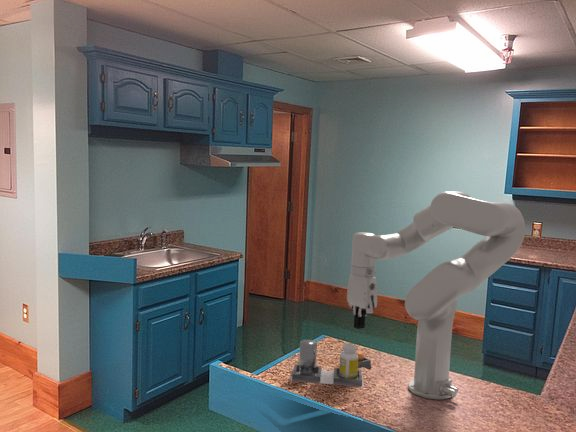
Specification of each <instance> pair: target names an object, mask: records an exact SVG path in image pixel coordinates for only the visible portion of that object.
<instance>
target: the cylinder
mask: <svg viewBox="0 0 576 432" xmlns="http://www.w3.org/2000/svg"><path fill="white" fill-rule="evenodd" d="M317 348H318V342H317V341H315V340H313V339H302V340H300V342H299V356H298V357H299V359H298V361H299V363H298V365H299V374H306V375H315V374H316V366H317V350H318V349H317Z"/></svg>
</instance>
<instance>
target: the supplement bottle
mask: <svg viewBox="0 0 576 432" xmlns="http://www.w3.org/2000/svg"><path fill="white" fill-rule="evenodd" d="M356 351H357V345H355V344H353V343H352V344H351V343H346V344H343V345H342V352H340V354H339V367H338V368H339V377H342V378H354V379H357V374H358V369H359V367H358V354H357V353H355V352H356Z"/></svg>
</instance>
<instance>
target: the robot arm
mask: <svg viewBox="0 0 576 432" xmlns="http://www.w3.org/2000/svg"><path fill="white" fill-rule="evenodd" d="M412 220H413V221H412V222H411V223H410V224H409V225H407V226H406V227H404V228H401V229H400V230H399V231H396V232H395V233H387V234H378V235H376V234H375V233H372V232H368V231H366V232H365V231H364V232H363V231H362V232H361V231H359V232H355V233H354V234H353V236H352V244H351V247H352V248H351V262H350V263H351V266H350V275H349V278H348V282H347V288H346V289H347V291H346V301H347V305H348V306H349V307H350V308H351V309H352V314H353V316H354V318H353V319H354V320H353V327H354V328H355V329H357V330H360V329H365V326H366V325H365V324H366V317H367V316H368V314H373V313H374V309H376V308H377V306H378V283H377V282H378V281H377V277H375V276H376V260H378V261H384V260H385V261H386V260H391V259H395V258H400V257H403V256H404V255H408V254H409V253H411V252H413V251H415V250H417V249H418V248H420V247H422V246H423V245H426V243H429V241H431V240H432V239H434V238H436V237H438V236H440V235H442V234H444V233H446V232H447V231H449V230H451V229H454V228H456V229H459V230H463V231H466V232H469V233H472V234H476V235H479V236H483V238H482V239H481V240H480V241H477V242H476V243H475V244H474V245H473V246H472V247H471V248H470V249H469V250H468V251H466V252H465V253H463V254H462V255H461V256H460V257H458V258H455V259H452V260H447V261H444V262H442V263H440V264H439V265H437V266H436V267H434V268H433V269H432V270H431V271H429V273H428V274H426V275H425V276H424V277H422V279H420V281H418V282H417V283H416V284H414V285H413V286H412V287H411V289H409V291H408V292H407V293H406V296H405V300H404V307H405V308H404V309H405V311H406V312H407V314H408V315H409V316H410V317H411V318H412V319H414V320H416V321H418V322H417V330H416V340H415V341H416V342H415V343H416V344H415V360H414V373H413V375H414V376H413V379H411V380H410V381H408V384H407V387H408V389H409V391H410V392H411V393H413V394H414V395H416V396H418V397H421V398H424V399H428V400H429V399H430V400H447V399H450V398H456V396H457V394H458V392H459V388H458V387H456V386H453V384H452V383H453V382H452V381H453V380H452V379H451V378H450V365H451V364H450V363H451V351H452V349H451V347H452V337H453V335H452V334H453V327H454V326H453V325H454V319H455V313H456V310H457V299H458V298H460V297H462V296H464V295H467V294H469V293H472V292H474V291H475V290H476V289H478V287H479V286H480V285H482V283H484V282H485V281H486V280H487V279H488V278H489V277H491V276H492V275H494V274H495V272H497V271H498V270H499V269H500V268H501V267H502V266H504V265H505V264H506V263H507V262H508V261H510V259H511V258H513V257H514V256H515V255H516V253H517V252H518V250H519V249H520V248H521V246H522V244H523V242H524V239H525V236H526V223H525V219H524V216H523V214H522V211H520V209H519V208H518V207H516V206H515V205H514V204H511V203H508V202H501V201H499V202H498V201H496V202H493V201H492V202H490V201H486V200H481V199H477V198H473V197H471V196H470V194H468V193H465V192H463V191H452V190H451V191H442V192H440V193H438V194H437V195H436V196H434V198H433V199H432V201H431V202H430V205H428V206H426V207H425V208H423V209H422V210H419V211H418V212H416V213H415V214H413V218H412ZM354 328H353V329H354Z"/></svg>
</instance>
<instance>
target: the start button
mask: <svg viewBox="0 0 576 432" xmlns="http://www.w3.org/2000/svg"><path fill="white" fill-rule="evenodd" d="M355 353H357V354H358V361H362V360H364V357H365V352H364V351H363V350H356V352H355Z"/></svg>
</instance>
